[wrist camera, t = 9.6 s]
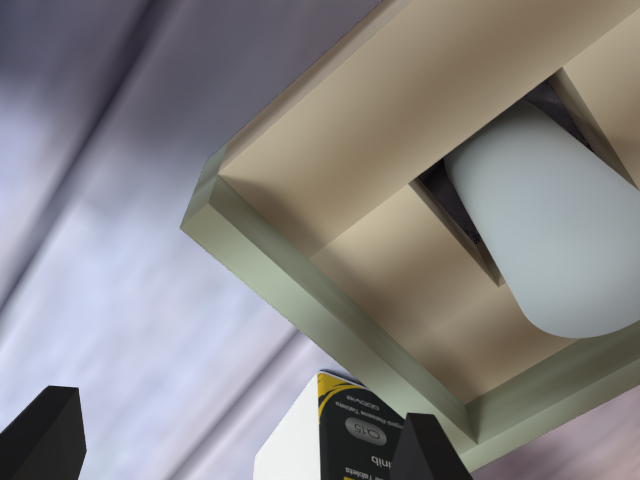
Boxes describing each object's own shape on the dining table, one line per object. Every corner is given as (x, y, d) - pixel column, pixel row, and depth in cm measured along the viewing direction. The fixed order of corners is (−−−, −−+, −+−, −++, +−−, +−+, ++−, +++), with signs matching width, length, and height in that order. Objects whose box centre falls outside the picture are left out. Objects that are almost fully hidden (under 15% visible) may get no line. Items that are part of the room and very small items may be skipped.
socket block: (206, 161, 20) (179, 228, 15) (581, -181, 15) (694, -221, 11) (441, 381, 26) (468, 473, 22) (762, 189, 21) (880, 258, 17)
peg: (442, 105, 19) (522, 214, 12) (557, 90, 19) (704, 191, 12) (444, 205, 21) (512, 346, 14) (547, 192, 21) (666, 328, 14)
